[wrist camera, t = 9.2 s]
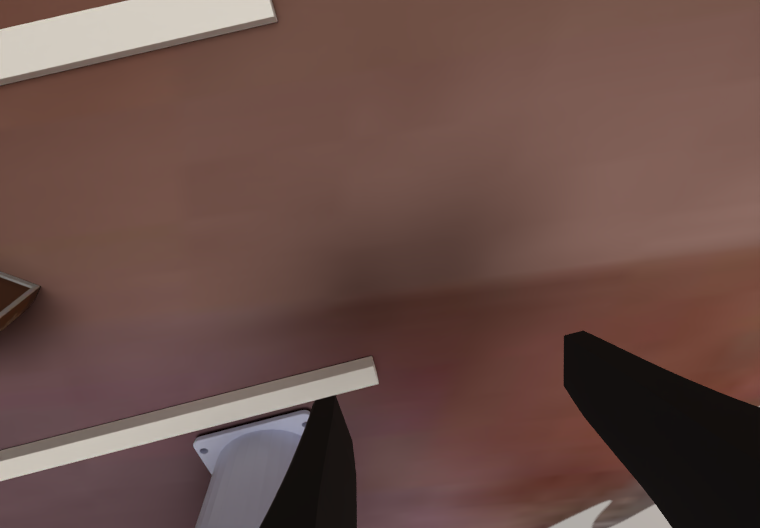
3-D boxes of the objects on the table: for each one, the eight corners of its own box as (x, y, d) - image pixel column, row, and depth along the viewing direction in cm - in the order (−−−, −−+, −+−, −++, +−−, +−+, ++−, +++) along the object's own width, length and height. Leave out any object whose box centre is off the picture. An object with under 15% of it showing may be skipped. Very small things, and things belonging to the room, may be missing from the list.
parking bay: (377, 373, 24) (378, 383, 23) (-97, 494, 23) (-115, 510, 22) (265, -21, 14) (261, -30, 14) (-525, 158, 14) (-586, 161, 13)
